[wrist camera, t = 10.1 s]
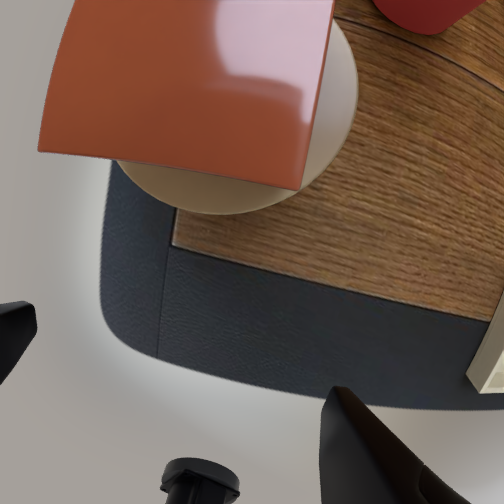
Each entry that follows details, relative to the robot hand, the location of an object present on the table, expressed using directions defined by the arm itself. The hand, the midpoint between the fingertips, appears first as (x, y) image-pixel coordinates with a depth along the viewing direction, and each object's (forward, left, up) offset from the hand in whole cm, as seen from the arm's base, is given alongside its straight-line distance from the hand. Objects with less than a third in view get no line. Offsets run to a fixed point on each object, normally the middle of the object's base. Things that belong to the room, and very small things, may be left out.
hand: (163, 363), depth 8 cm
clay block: (+7, +3, -1) cm, 7 cm away
